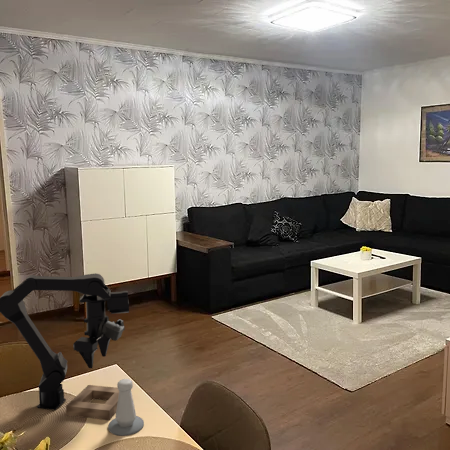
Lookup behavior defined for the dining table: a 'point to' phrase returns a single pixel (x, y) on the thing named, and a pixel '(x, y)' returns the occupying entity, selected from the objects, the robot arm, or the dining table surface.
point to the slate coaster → (123, 431)
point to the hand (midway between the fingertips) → (97, 362)
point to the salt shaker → (125, 404)
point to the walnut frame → (94, 410)
